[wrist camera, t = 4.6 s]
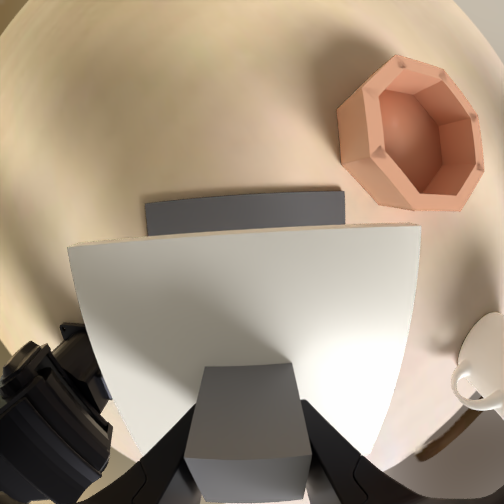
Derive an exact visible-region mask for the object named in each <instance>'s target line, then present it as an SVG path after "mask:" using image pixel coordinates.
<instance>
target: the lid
mask: <svg viewBox="0 0 504 504" xmlns="http://www.w3.org/2000/svg"><path fill="white" fill-rule="evenodd" d="M420 243H421V226H420V225H416V224H412V223H378V224H347V225H322V226H300V227H280V228H262V229H244V230H228V231H213V232H199V233H185V234H172V235H159V236H147V237H135V238H124V239H113V240H102V241H92V242H82V243H77V244H74V245H72V246H69V247H67V249H68V255H69V261H70V266H71V271H72V276H73V281H74V285H75V290H76V294H77V298H78V302H79V306H80V309H81V313H82V317H83V320H84V323H85V327H86V330H87V333H88V336H89V339H90V342H91V345H92V348H93V351H94V354H95V357H96V359H97V362H98V365H99V367H100V370H101V373H102V375H103V378H104V380H105V382H106V385H107V387H108V389H109V392H110V394H111V396H112V399H113V401H114V403H115V405H116V407H117V409H118V411H119V413H120V415H121V417H122V419H123V421H124V423H125V425H126V427H127V429H128V431H129V433H130V435H131V437H132V438H133V440H134V442H135V444H136V445H137V447H138V449H139V451H140V452H141V454H142V456H144V455H145V454H146V453H147V452H148V451H149V450H150V449H151V448H152V447H153V446H154V445H155V444H156V443H157V442H158V441H159V440H160V439H161V438H162V437H163V436H164V435H165V434H166V433H167V432H168V431H169V430H170V429H171V428H172V427H173V426H174V425H175V424H176V423H177V422H178V421H179V420H180V419H181V418H182V417H183V416H184V415H185V413H186V412H187V411H188V410H189V409H190V408H191V407H192V406H193V405H194V404H196V406H195V410H194V414H193V419H192V423H191V427H190V432H189V436H188V441H187V445H186V450H185V454H184V459H185V461H186V463H187V466H188V468H189V470H190V472H191V474H192V476H193V478H194V480H195V482H196V484H197V486H198V488H199V490H200V492H201V494H202V495H203V497H204V499H205V501H206V502H218V503H265V502H280V501H291V500H300V499H303V496H304V492H305V488H306V483H307V478H308V473H309V468H310V463H311V458H312V451H311V447H310V442H309V437H308V433H307V428H306V423H305V419H304V414H303V410H302V405H301V399H306V400H307V401H308V402H309V403H310V404H311V405H312V406H313V407H314V408H315V409H316V410H317V411H318V412H319V413H320V414H321V415H322V416H323V417H324V418H325V419H326V420H327V421H328V422H329V423H330V424H331V425H332V426H333V427H334V428H335V429H336V430H337V431H338V432H339V433H340V434H341V435H342V436H343V437H344V438H345V439H346V440H347V441H348V442H349V443H350V444H351V445H352V446H354V447H355V448H356V449H357V450H358V451H359V452H360V453H361V455H363V456H365V455H369V454H370V453H371V451H372V448H373V446H374V444H375V441H376V439H377V436H378V434H379V431H380V429H381V426H382V423H383V421H384V418H385V415H386V413H387V410H388V407H389V404H390V401H391V398H392V395H393V391H394V388H395V385H396V381H397V378H398V374H399V371H400V367H401V363H402V359H403V355H404V351H405V347H406V343H407V338H408V333H409V328H410V323H411V318H412V312H413V306H414V300H415V293H416V285H417V277H418V268H419V257H420Z"/></svg>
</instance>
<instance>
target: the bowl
mask: <svg viewBox="0 0 504 504" xmlns="http://www.w3.org/2000/svg"><path fill="white" fill-rule="evenodd" d="M336 111H337V120H338V130H339V141H340V154H341V165H342V166H343V167H344V168H345V169H346V170H347V171H348V172H349V173H350V174H351V175H352V176H353V177H354V178H355V179H356V180H357V181H358V182H359V184H360V185H361V186H362V187H363V188H364V189H365V190H366V191H367V192H368V193H369V194H370V196H371V197H372V198H373V199H374V200H375V201H376V202H377V204H378V205H382V206H388V207H395V208H401V209H407V210H412V211H459V212H460V211H461V210H462V208H463V206H464V205H465V203H466V202H467V200H468V198H469V197H470V195H471V194H472V192H473V190H474V189H475V187H476V185H477V183H478V182H479V180H480V178H481V176H482V175H483V173H484V159H483V149H482V140H481V132H480V125H479V119H478V115H477V114H476V112H475V111H474V109H473V108H472V106H471V105H470V103H469V102H468V100H467V99H466V98H465V96H464V95H463V93H462V92H461V91H460V89H459V88H458V87H457V85H456V84H455V83H454V82H453V80H452V79H451V78H450V77H449V75H448V74H447V73H446V72H445V71H444V69H441V68H438V67H436V66H433V65H430V64H426V63H423V62H420V61H417V60H413V59H410V58H406V57H403V56H399V55H394V56H393V57H392V58H391V59H390V60H388V61H387V62H386V63H385V64H384V65H383V66H381V67H380V68H379V69H378V70H377V71H376V72H374V73H373V74H372V75H371V76H370V77H369V78H368V79H367V80H366V81H365V82H364V83H363V84H362V85H361V86H360V87H359V88H358V89H357V90H356V91H355V92H354V93H353V94H352V95H351V96H350V97H349V98H348V99H347V100H346V101H345V102H344V103H343V104H342V105H341V106H340V107H339V108H337V109H336Z"/></svg>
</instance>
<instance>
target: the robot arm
mask: <svg viewBox="0 0 504 504" xmlns="http://www.w3.org/2000/svg"><path fill="white" fill-rule="evenodd" d="M60 330H61V333H62V336H63V339H64V341H63V342H62V343H61V344H60V345H59V346H57V347H56V348H55V349H54V350H53V351H52V352H51V349H50V347H49V346H48V344H47V343H46V344H44V345H42V346H39V345H37V344H35V343H34V342H33V341H29V342H28V343H26V344H25V345H24V346H23V347H22V348H20V349H19V350H18V351H17V352H16V353H15V354H14V355H13V356H12V357H11V358H10V359H9V361H8V362H7V363H6V364H5V365H4V367H3V375H2V377H1V379H0V504H28V503H30V502H31V501H39V500H51V501H53V502H54V503H55V504H200V500H201V495H202V494H201V492H200V490H199V488H198V486H197V484H196V482H195V480H194V478H193V476H192V474H191V472H190V470H189V468H188V466H187V463H186V461H185V459H184V454H185V450H186V445H187V441H188V436H189V432H190V427H191V423H192V419H193V414H194V410H195V406H196V404H194V405H193V406H192V407H191V408H190V409H189V410H188V411H187V412H186V413H185V415H184V416H183V417H182V418H181V419H180V420H179V421H178V422H177V423H176V424H175V425H174V426H173V427H172V428H171V429H170V430H169V431H168V432H167V433H166V434H165V435H164V436H163V437H162V438H161V439H160V440H159V441H158V442H157V443H156V444H155V445H154V446H153V447H152V448H151V449H150V450H149V451H148V452H147V453H146V454H145V455H144V456H143V457H142V458H141V459H140V461H138V462H137V463H136V464H135V465H134V466H133V467H131V468H130V469H129V470H128V471H127V472H126V473H125V474H124V475H122V476H121V477H119V478H118V479H117V480H115V481H114V482H113V483H111V484H110V485H108V486H107V487H105V488H104V489H102V490H101V491H99V492H98V493H96V494H95V495H93V496H91V497H90V498H88V499H86V500H84V501H81V502H78V503H76V502H77V500H78V499H79V497H80V496H81V495H82V493H83V492H84V491H85V489H86V488H88V486H90V485H91V484H92V483H93V482H95V481H96V480H98V479H99V478H101V477H102V474H101V473H102V472H103V471H104V469H105V468H106V466H107V464H108V461H109V457H110V446H111V438H112V431H113V426H112V425H111V424H110V423H109V422H107V421H106V420H105V419H104V418H103V417H102V416H101V415H100V414H101V412H102V410H103V409H104V407H105V405H106V404H107V402H108V400H112V396H111V394H110V392H109V389H108V387H107V385H106V382H105V380H104V378H103V375H102V373H101V370H100V367H99V365H98V362H97V359H96V357H95V354H94V351H93V348H92V345H91V342H90V339H89V336H88V333H87V330H86V327H85V324H73V323H62V324H61V325H60ZM301 405H302V410H303V414H304V419H305V423H306V428H307V433H308V437H309V442H310V447H311V451H312V458H311V463H310V468H309V473H308V478H307V483H306V489H307V493H308V496H309V500H310V504H504V485H503V486H502V487H501V488H499V489H498V490H497V491H496V492H494V493H493V494H491V495H488V496H486V497H482V498H475V499H445V498H430V497H425V496H422V495H419V494H417V493H415V492H414V491H412V490H410V489H409V488H407V487H405V486H404V485H402V484H400V483H399V482H397V481H396V480H394V479H392V478H391V477H389V476H388V475H386V474H385V473H384V472H382V471H381V470H379V469H378V468H377V467H376V466H374V465H373V464H372V463H371V462H370V461H369V460H368V459H366V458H365V457H364V456H363V455H361V453H360V452H359V451H358V450H357V449H356V448H355V447H354V446H352V445H351V444H350V443H349V442H348V441H347V440H346V439H345V438H344V437H343V436H342V435H341V434H340V433H339V432H338V431H337V430H336V429H335V428H334V427H333V426H332V425H331V424H330V423H329V422H328V421H327V420H326V419H325V418H324V417H323V416H322V415H321V414H320V413H319V412H318V411H317V410H316V409H315V408H314V407H313V406H312V405H311V404H310V403H309V402H308V401H307V400H306V399H301Z"/></svg>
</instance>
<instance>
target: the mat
mask: <svg viewBox="0 0 504 504" xmlns="http://www.w3.org/2000/svg"><path fill="white" fill-rule="evenodd" d="M145 210H146V220H147V230H148V236H159V235H172V234H185V233H199V232H213V231H228V230H244V229H262V228H280V227H300V226H322V225H345V195H344V191H318V192H285V193H263V194H245V195H230V196H217V197H205V198H193V199H183V200H173V201H164V202H155V203H146V204H145Z"/></svg>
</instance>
